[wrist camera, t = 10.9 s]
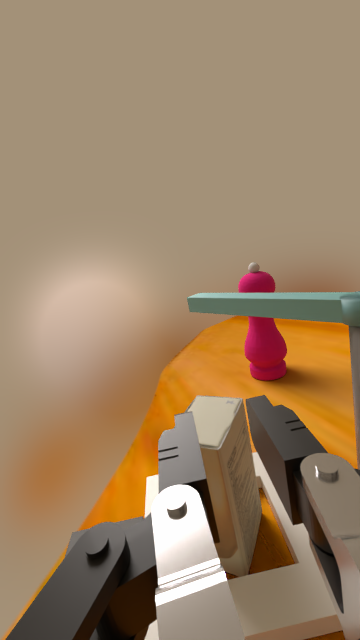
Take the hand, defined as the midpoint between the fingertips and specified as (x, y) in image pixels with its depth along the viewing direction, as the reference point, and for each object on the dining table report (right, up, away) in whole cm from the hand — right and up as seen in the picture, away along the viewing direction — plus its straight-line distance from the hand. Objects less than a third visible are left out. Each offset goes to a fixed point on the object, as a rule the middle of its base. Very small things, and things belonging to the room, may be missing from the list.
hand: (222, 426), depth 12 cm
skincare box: (+3, -15, +14) cm, 21 cm away
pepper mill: (+14, -6, +42) cm, 44 cm away
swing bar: (+7, +5, +17) cm, 19 cm away
